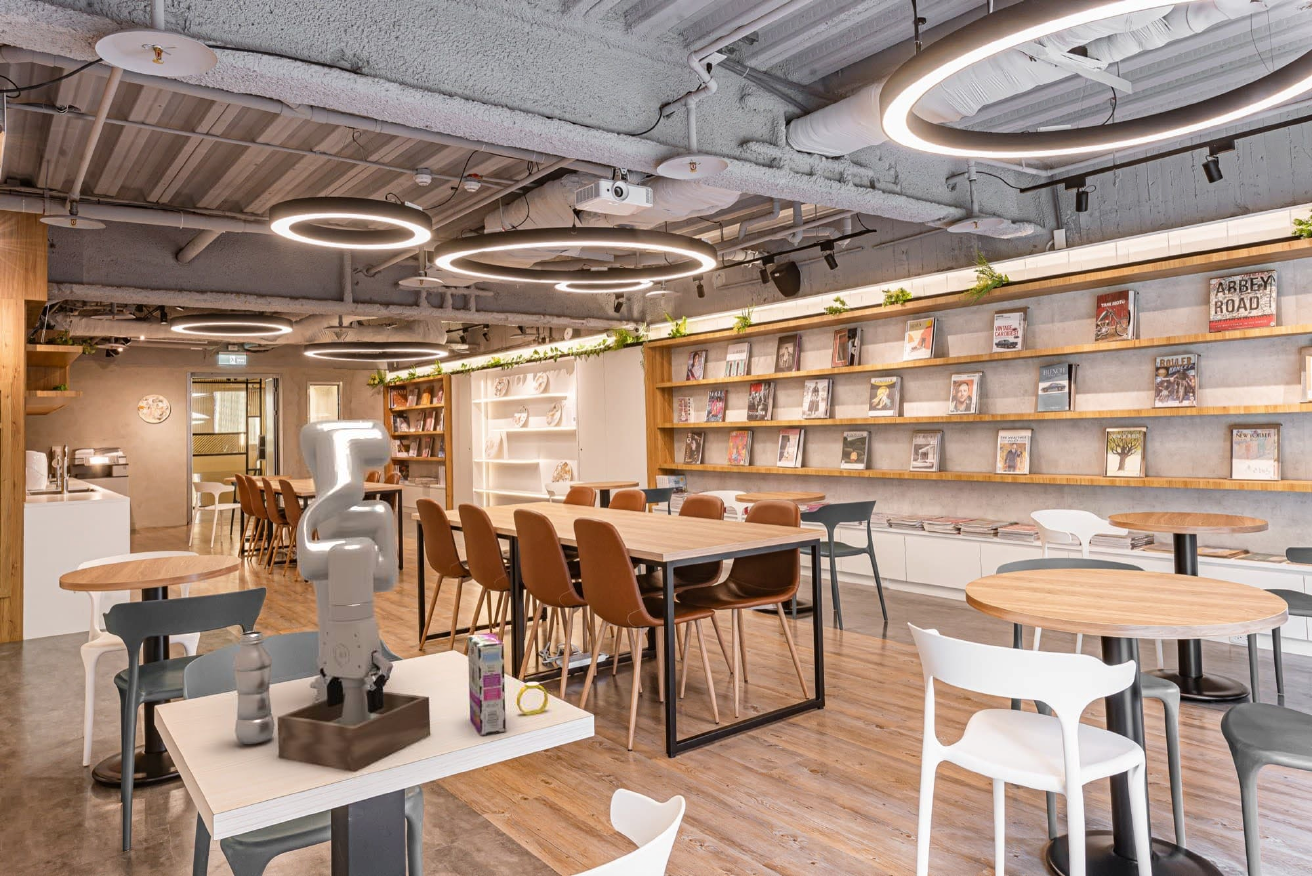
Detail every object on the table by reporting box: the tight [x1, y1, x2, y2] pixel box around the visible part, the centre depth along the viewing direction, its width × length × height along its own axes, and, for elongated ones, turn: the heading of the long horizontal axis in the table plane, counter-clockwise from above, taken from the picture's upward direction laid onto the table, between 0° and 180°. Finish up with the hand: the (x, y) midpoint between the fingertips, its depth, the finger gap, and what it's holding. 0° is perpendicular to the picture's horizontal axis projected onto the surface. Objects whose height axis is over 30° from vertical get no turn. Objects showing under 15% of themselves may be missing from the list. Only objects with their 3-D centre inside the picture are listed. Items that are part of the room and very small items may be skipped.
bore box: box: [277, 689, 431, 772], centre depth 147 cm, size 18×18×7 cm
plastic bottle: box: [232, 630, 275, 745], centre depth 152 cm, size 6×7×20 cm
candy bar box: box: [467, 632, 507, 736], centre depth 156 cm, size 11×5×16 cm, turn 23°
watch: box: [516, 681, 549, 716], centre depth 162 cm, size 6×3×6 cm, turn 114°
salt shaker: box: [341, 678, 371, 726], centre depth 148 cm, size 6×6×13 cm
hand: (355, 707), depth 147 cm, fingers open, 9 cm apart
